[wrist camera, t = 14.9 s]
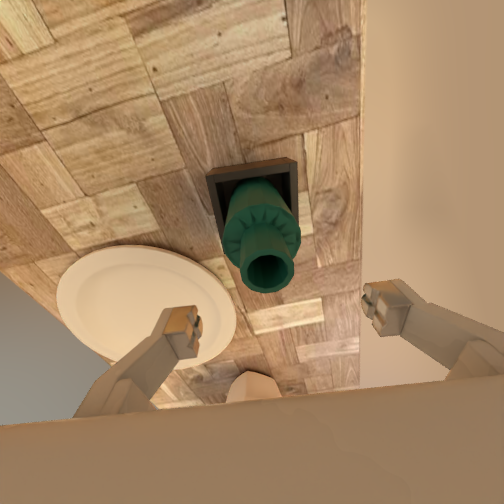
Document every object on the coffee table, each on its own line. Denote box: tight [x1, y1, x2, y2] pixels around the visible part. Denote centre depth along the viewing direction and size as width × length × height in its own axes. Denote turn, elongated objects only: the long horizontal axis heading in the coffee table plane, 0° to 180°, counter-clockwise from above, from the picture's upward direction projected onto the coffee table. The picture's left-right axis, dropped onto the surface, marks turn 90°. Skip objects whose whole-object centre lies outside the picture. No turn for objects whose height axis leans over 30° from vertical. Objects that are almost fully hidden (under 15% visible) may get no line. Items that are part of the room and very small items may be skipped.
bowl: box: [226, 371, 282, 403], centre depth 41 cm, size 19×19×14 cm
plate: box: [56, 245, 236, 370], centre depth 34 cm, size 28×28×2 cm
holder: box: [205, 157, 299, 254], centre depth 24 cm, size 9×9×6 cm
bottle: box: [222, 176, 301, 293], centre depth 19 cm, size 6×6×16 cm
